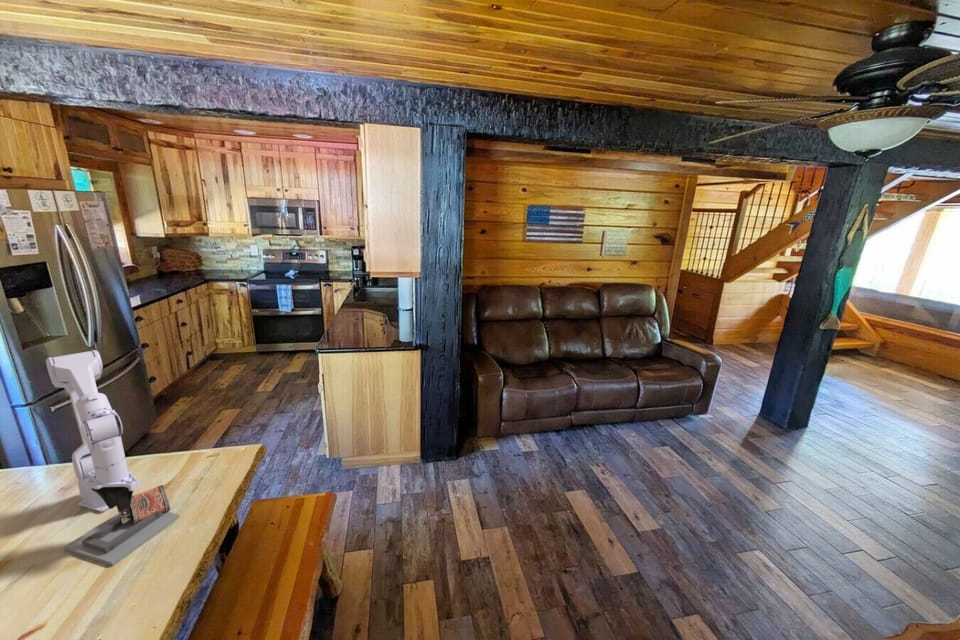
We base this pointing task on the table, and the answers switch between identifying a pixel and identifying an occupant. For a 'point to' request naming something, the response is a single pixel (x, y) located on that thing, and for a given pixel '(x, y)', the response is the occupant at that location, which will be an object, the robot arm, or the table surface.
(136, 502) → the lighter
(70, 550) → the socket dock
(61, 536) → the table surface
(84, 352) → the robot arm
